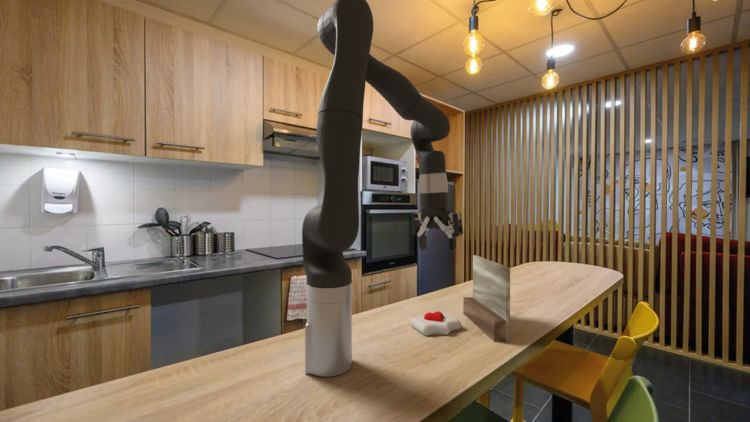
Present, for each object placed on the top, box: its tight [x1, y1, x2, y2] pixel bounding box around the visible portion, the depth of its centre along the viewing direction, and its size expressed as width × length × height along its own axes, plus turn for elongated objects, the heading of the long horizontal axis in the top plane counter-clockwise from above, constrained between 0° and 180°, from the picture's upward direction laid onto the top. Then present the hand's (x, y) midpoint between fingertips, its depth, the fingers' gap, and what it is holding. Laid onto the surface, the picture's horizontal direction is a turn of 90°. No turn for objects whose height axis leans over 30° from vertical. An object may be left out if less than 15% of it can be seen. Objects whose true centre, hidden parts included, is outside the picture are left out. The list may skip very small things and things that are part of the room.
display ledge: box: [462, 254, 511, 342], centre depth 86 cm, size 4×20×18 cm, turn 5°
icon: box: [409, 311, 462, 337], centre depth 84 cm, size 12×4×10 cm
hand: (437, 250), depth 84 cm, fingers open, 8 cm apart
